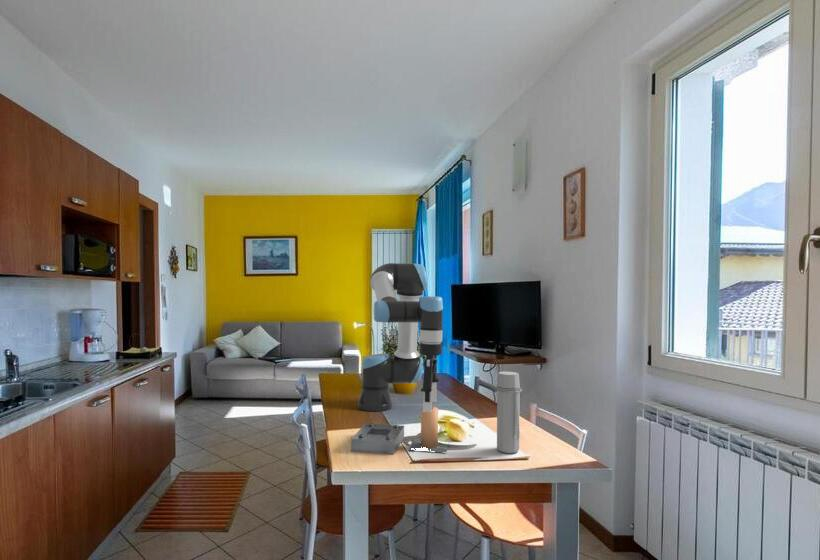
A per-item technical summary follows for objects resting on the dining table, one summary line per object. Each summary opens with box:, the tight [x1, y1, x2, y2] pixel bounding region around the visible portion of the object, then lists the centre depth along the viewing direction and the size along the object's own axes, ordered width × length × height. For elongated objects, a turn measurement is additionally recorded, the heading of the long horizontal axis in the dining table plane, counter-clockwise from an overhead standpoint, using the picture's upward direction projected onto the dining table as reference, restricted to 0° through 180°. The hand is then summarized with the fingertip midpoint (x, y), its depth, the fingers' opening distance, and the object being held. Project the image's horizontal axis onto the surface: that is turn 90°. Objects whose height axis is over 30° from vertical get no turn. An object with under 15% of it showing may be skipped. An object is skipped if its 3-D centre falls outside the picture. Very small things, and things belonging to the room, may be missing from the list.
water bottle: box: [496, 371, 523, 454], centre depth 148 cm, size 9×8×25 cm
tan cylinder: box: [420, 404, 439, 448], centre depth 152 cm, size 6×6×13 cm
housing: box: [350, 423, 405, 455], centre depth 154 cm, size 18×14×5 cm
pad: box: [408, 438, 448, 452], centre depth 152 cm, size 12×12×1 cm
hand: (429, 406), depth 153 cm, fingers open, 13 cm apart
